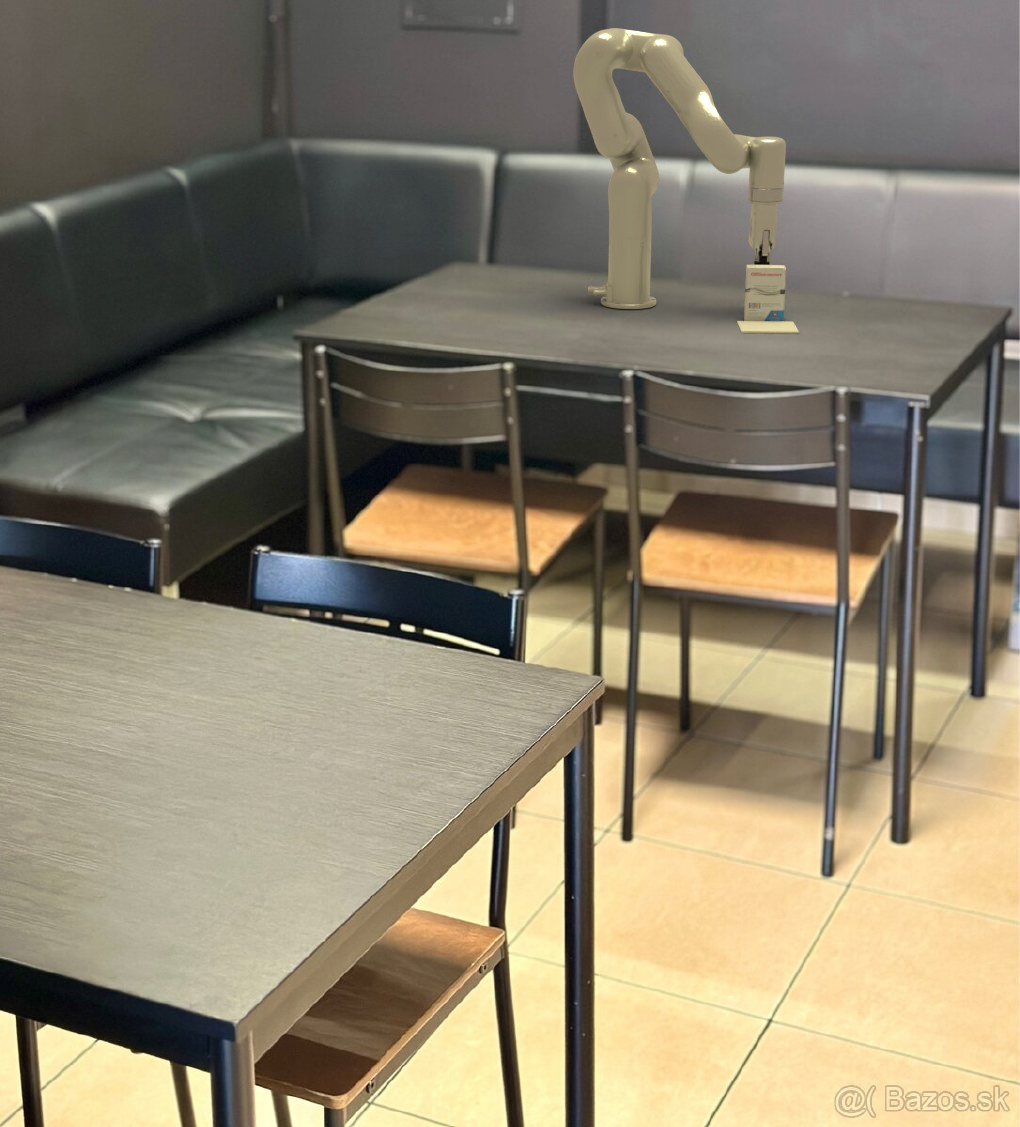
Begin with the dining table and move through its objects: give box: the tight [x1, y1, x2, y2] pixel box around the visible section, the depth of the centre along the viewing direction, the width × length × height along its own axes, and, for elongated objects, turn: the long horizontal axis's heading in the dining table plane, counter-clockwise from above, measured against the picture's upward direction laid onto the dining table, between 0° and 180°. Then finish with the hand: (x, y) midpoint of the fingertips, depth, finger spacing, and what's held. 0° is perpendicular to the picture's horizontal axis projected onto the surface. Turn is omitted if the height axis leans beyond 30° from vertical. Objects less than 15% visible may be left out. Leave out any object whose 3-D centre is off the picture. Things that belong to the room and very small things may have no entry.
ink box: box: [743, 264, 787, 321], centre depth 345 cm, size 8×5×12 cm, turn 84°
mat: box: [736, 320, 800, 335], centre depth 339 cm, size 12×10×1 cm
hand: (760, 279), depth 353 cm, fingers closed
